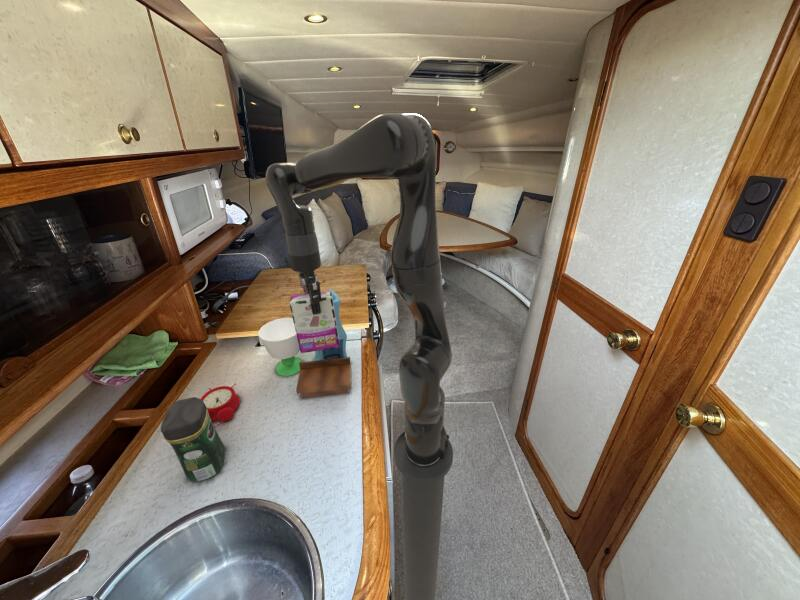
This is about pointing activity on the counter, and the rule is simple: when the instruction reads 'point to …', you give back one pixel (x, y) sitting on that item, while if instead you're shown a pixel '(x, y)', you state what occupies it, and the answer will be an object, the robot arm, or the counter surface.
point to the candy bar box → (314, 323)
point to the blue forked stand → (342, 335)
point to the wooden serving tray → (324, 377)
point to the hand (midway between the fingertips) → (313, 308)
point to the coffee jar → (193, 439)
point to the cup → (282, 344)
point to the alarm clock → (221, 403)
